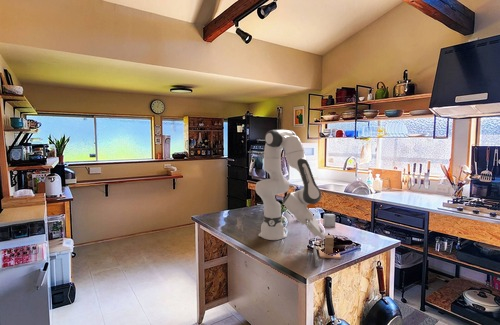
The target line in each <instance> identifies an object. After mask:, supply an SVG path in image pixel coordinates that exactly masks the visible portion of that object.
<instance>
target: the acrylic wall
mask: <svg viewBox="0 0 500 325" xmlns="http://www.w3.org/2000/svg"><path fill="white" fill-rule="evenodd" d="M317 252H318V250H317V246H316V245H313V257H314V258H313V259H314V266H315V267H316V268H318V267H319V257H318V253H317Z"/></svg>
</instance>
